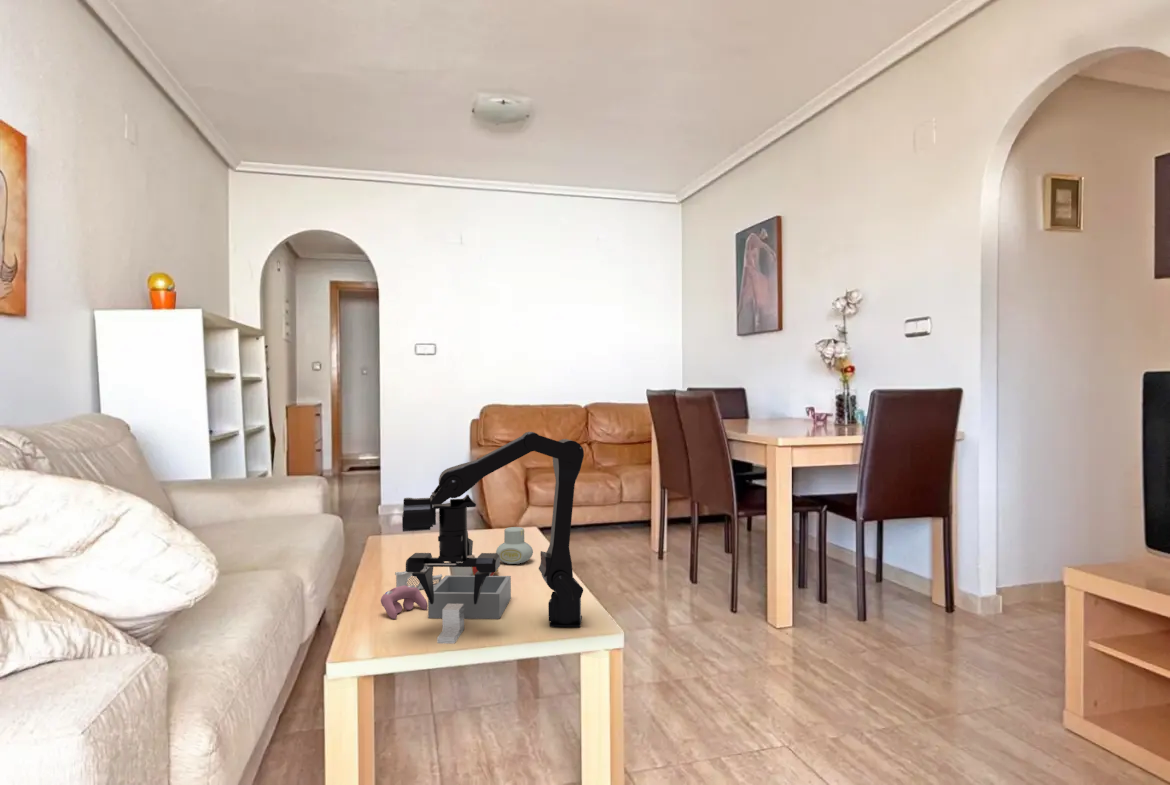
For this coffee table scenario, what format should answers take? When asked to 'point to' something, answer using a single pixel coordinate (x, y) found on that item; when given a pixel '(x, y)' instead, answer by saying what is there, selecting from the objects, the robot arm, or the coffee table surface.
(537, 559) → the coffee table surface
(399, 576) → the garden wall model
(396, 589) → the video game controller
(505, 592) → the open box
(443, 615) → the grey stepped block
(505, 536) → the air freshener
